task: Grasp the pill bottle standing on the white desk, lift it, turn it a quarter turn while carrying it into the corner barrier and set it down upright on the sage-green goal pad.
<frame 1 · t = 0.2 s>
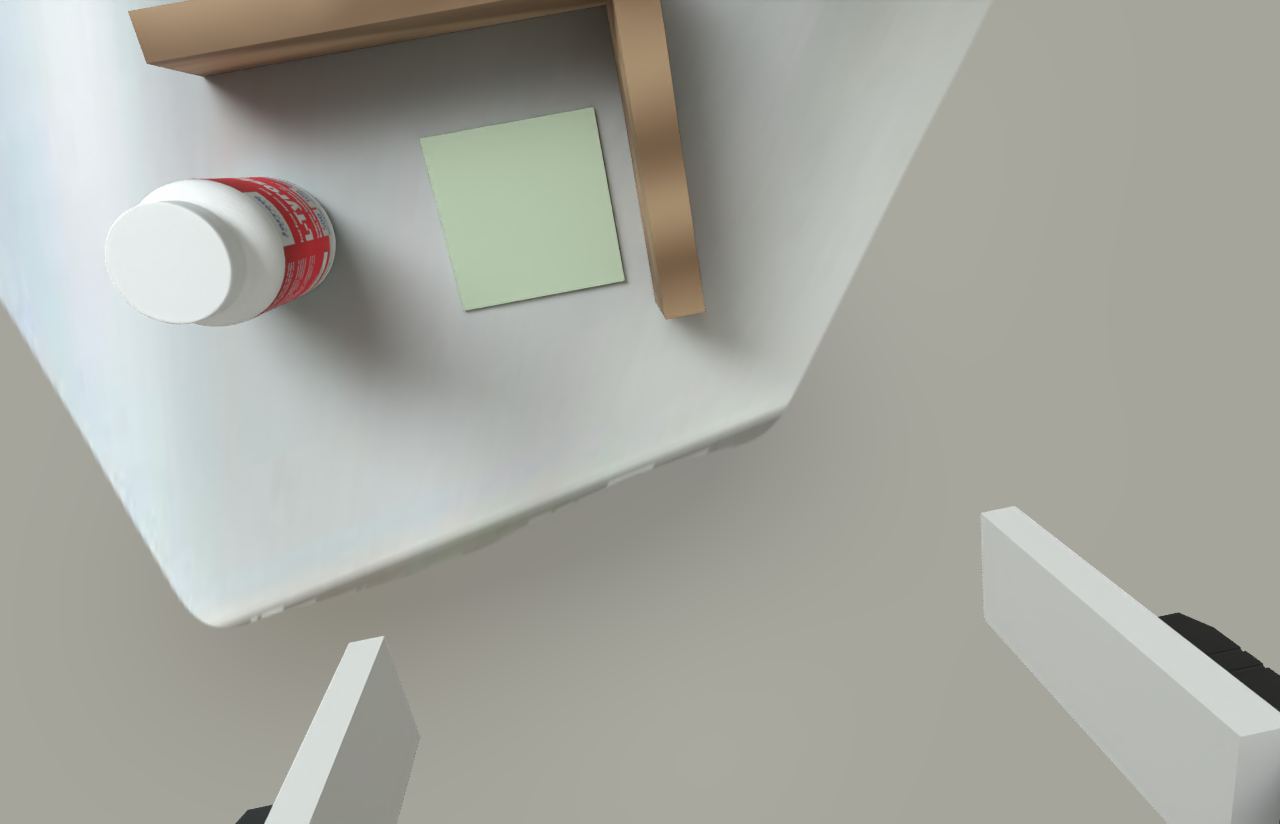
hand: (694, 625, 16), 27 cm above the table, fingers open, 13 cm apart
goal pad: (526, 212, 39), on the table
pill bottle: (279, 237, 39), on the table
corner barrier: (456, 163, 38), on the table
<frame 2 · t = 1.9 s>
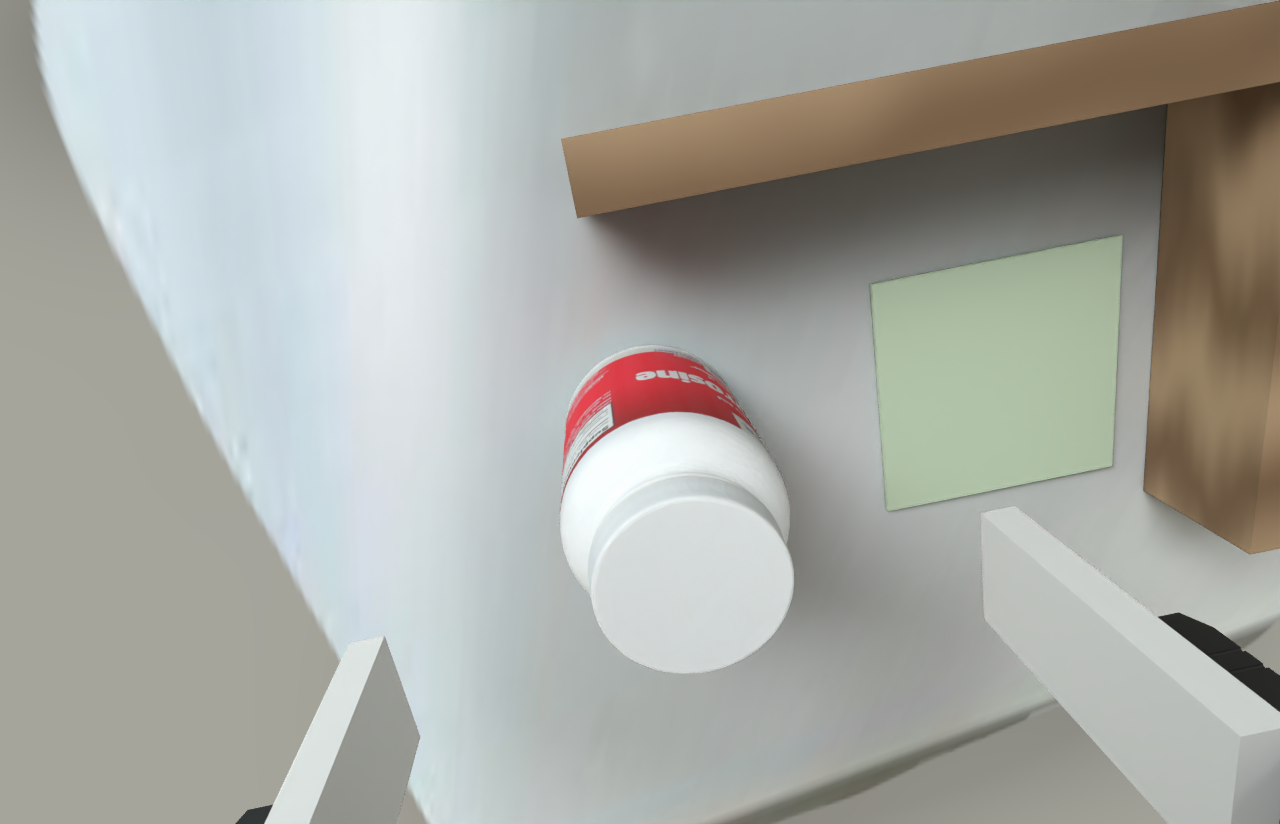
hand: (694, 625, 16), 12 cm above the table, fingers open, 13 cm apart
goal pad: (996, 379, 28), on the table
pill bottle: (648, 420, 27), on the table
corner barrier: (913, 317, 26), on the table
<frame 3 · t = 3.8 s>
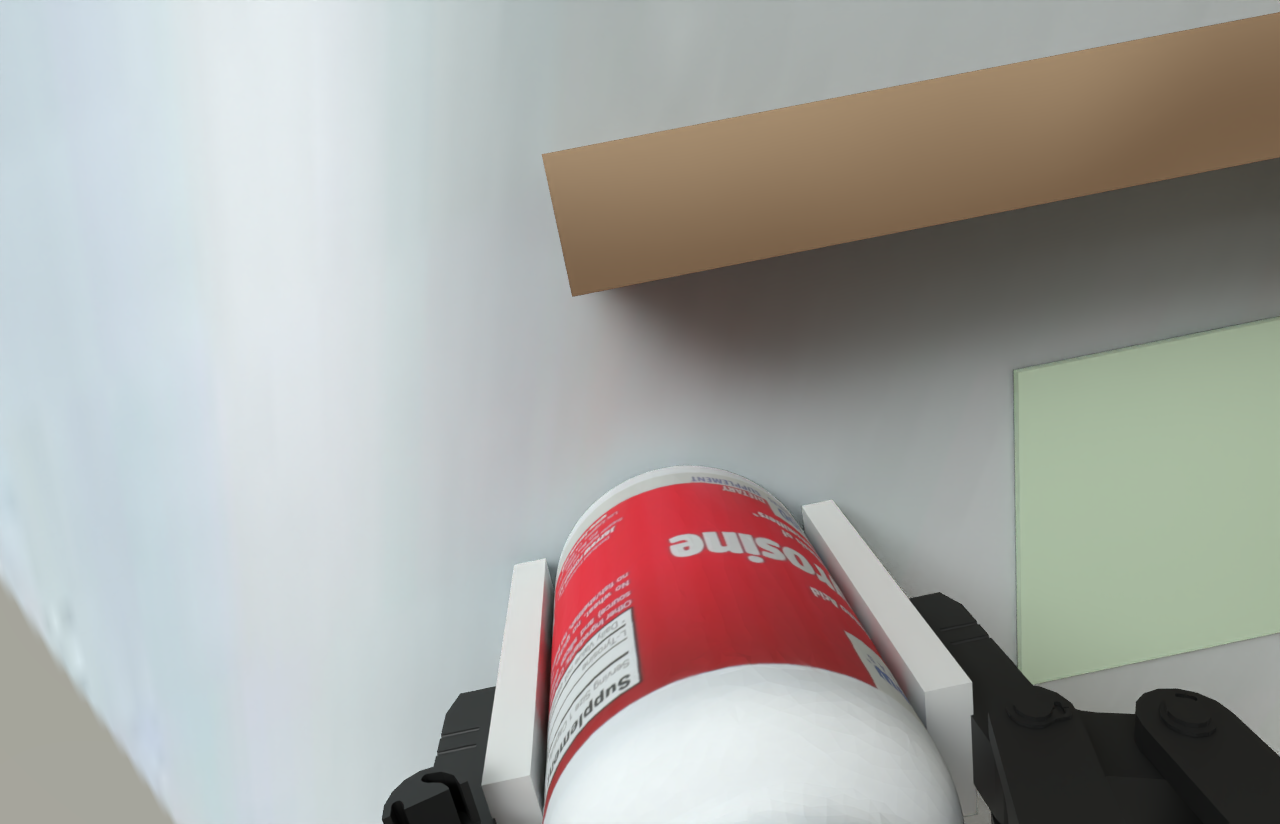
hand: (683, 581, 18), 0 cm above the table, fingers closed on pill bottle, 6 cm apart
goal pad: (1187, 502, 19), on the table
pill bottle: (678, 568, 18), on the table, touching gripper
corner barrier: (1074, 417, 18), on the table
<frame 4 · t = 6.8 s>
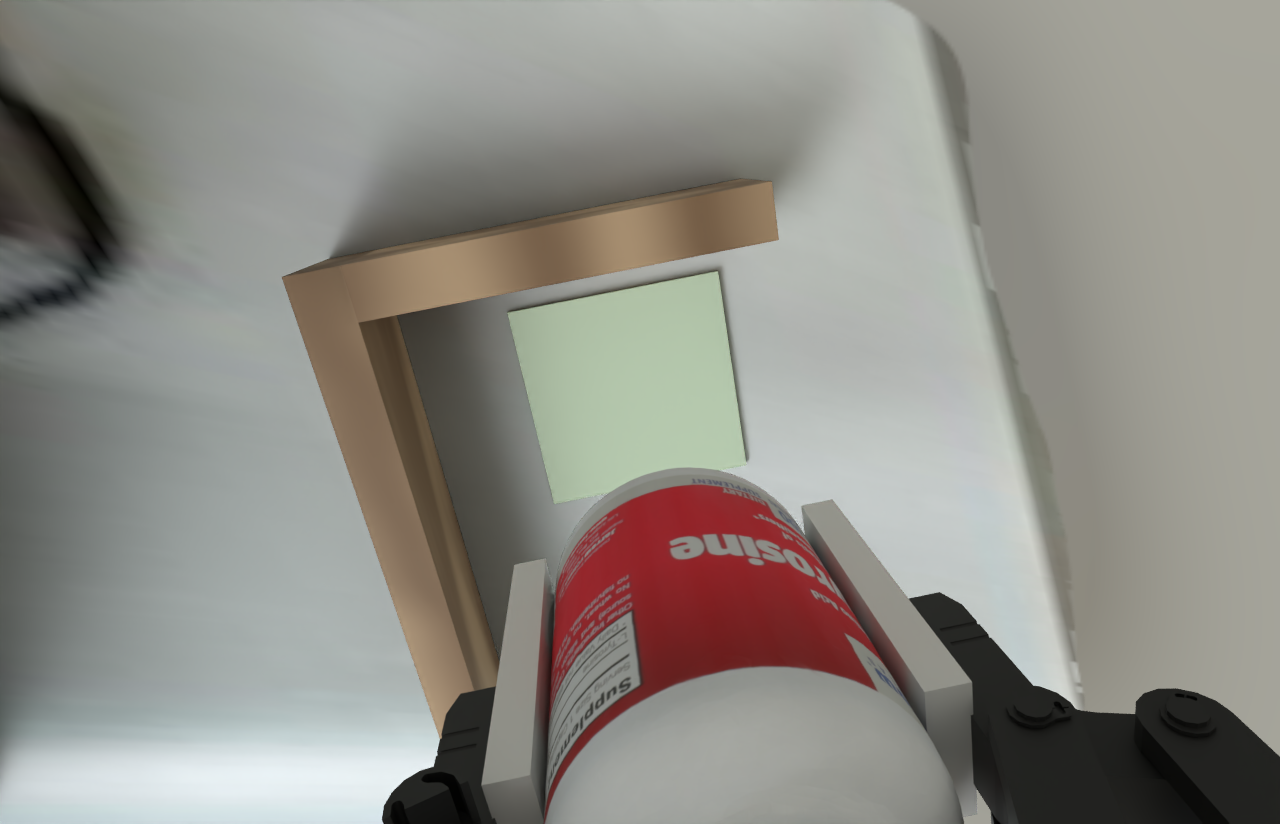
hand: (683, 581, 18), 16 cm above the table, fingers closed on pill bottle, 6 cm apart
goal pad: (632, 391, 33), on the table
pill bottle: (679, 570, 18), point 15 cm above the table, touching gripper
corner barrier: (579, 466, 34), on the table
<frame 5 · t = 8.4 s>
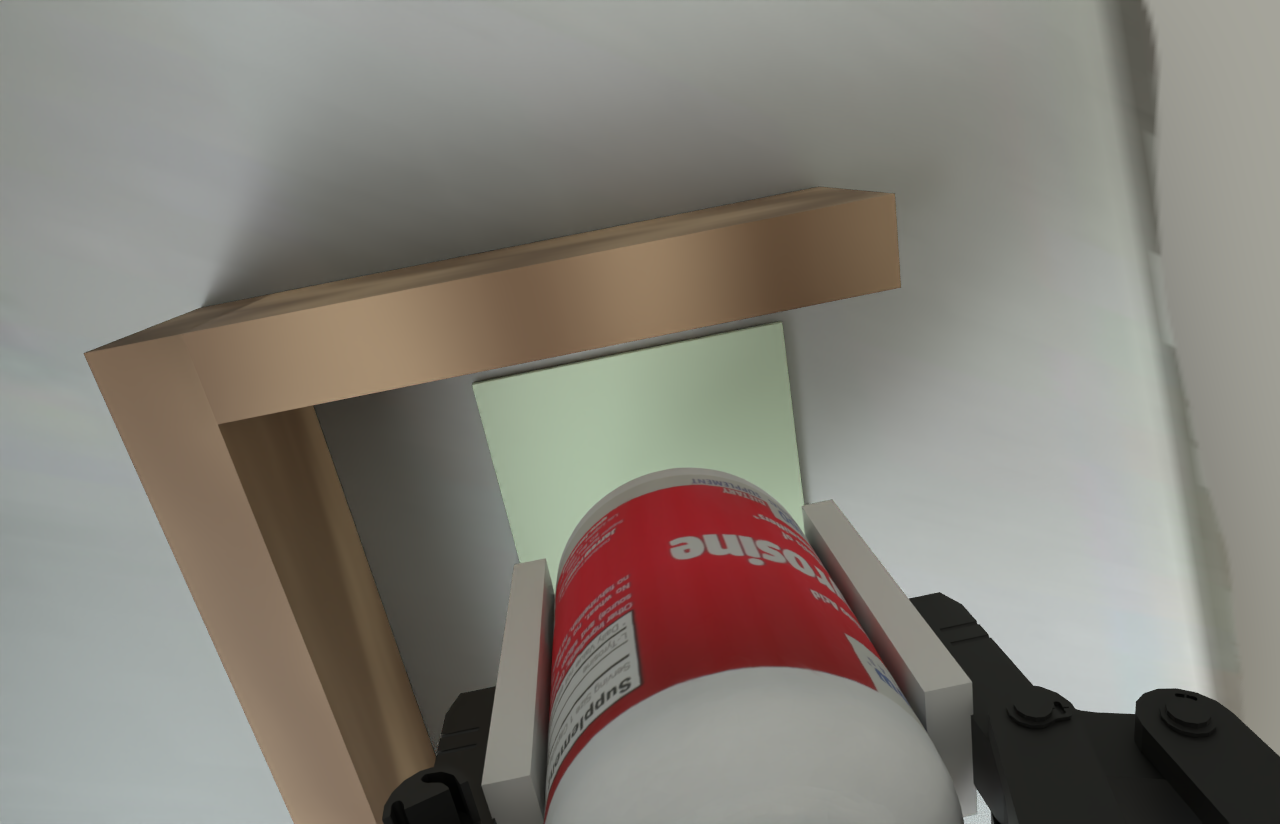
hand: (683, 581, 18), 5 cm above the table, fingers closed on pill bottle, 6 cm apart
goal pad: (654, 491, 23), on the table
pill bottle: (679, 570, 18), point 5 cm above the table, touching gripper
corner barrier: (578, 594, 24), on the table
when the fingers open (2 cm above the table, at t = 9.8 s): pill bottle drops 1 cm, resting on goal pad.
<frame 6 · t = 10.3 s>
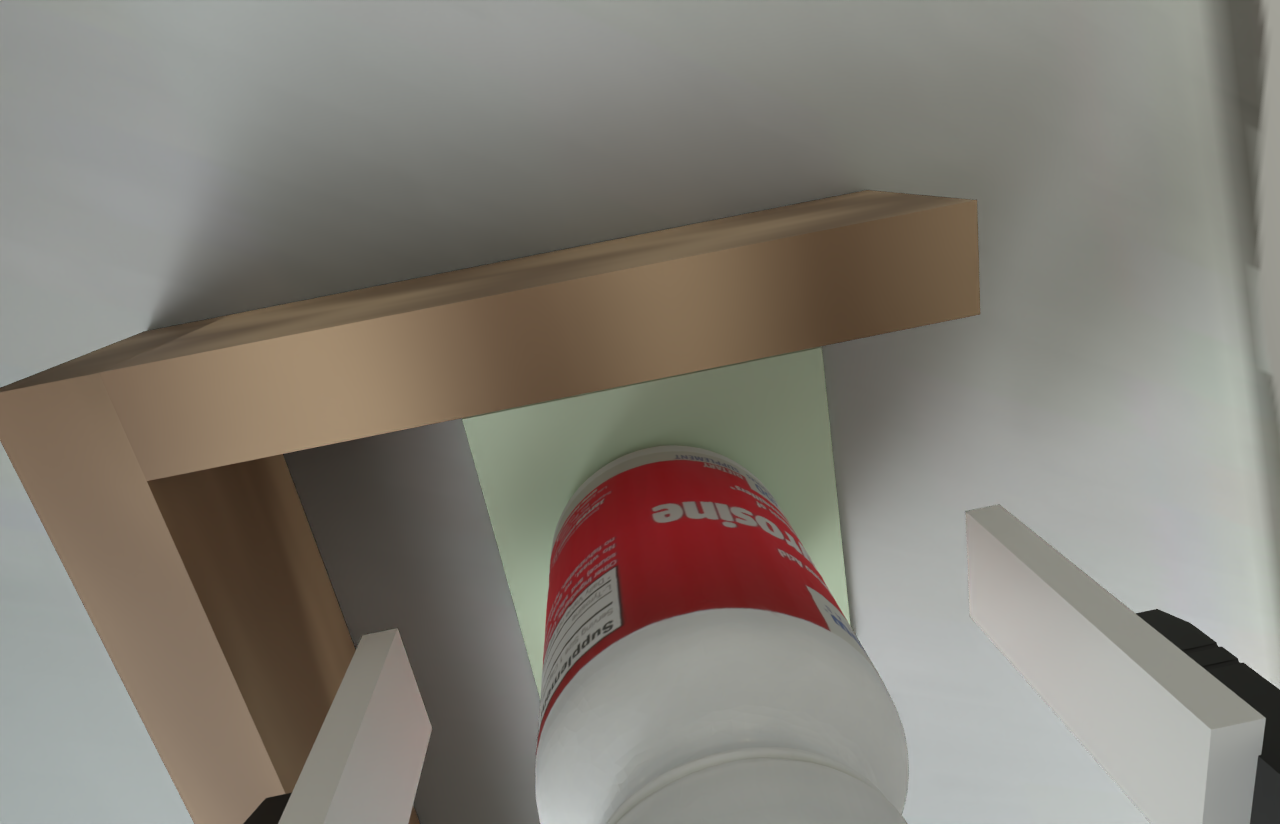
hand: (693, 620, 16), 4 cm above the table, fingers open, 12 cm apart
goal pad: (672, 539, 20), on the table
pill bottle: (665, 542, 20), resting on goal pad
corner barrier: (585, 654, 21), on the table
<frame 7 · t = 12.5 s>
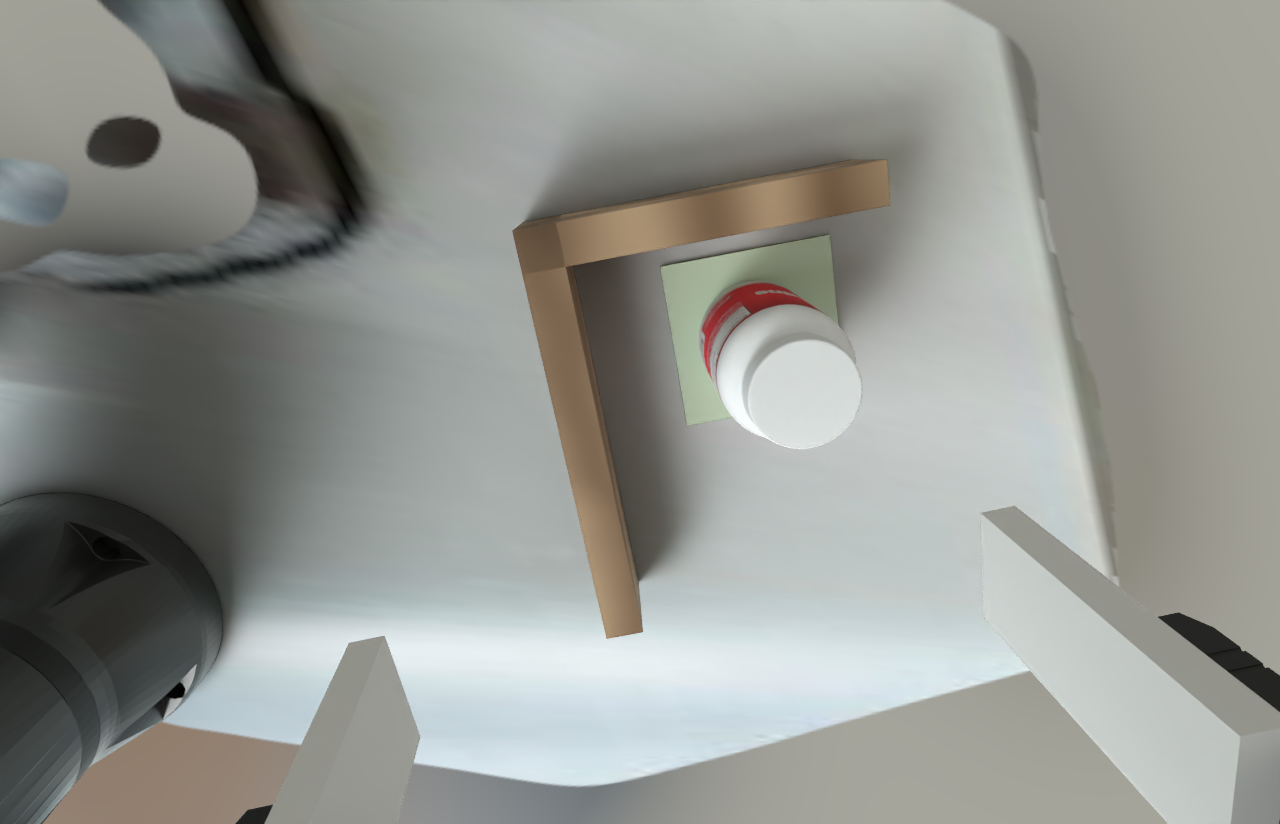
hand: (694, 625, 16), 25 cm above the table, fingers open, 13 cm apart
goal pad: (755, 333, 40), on the table
pill bottle: (752, 334, 40), resting on goal pad
corner barrier: (709, 394, 41), on the table
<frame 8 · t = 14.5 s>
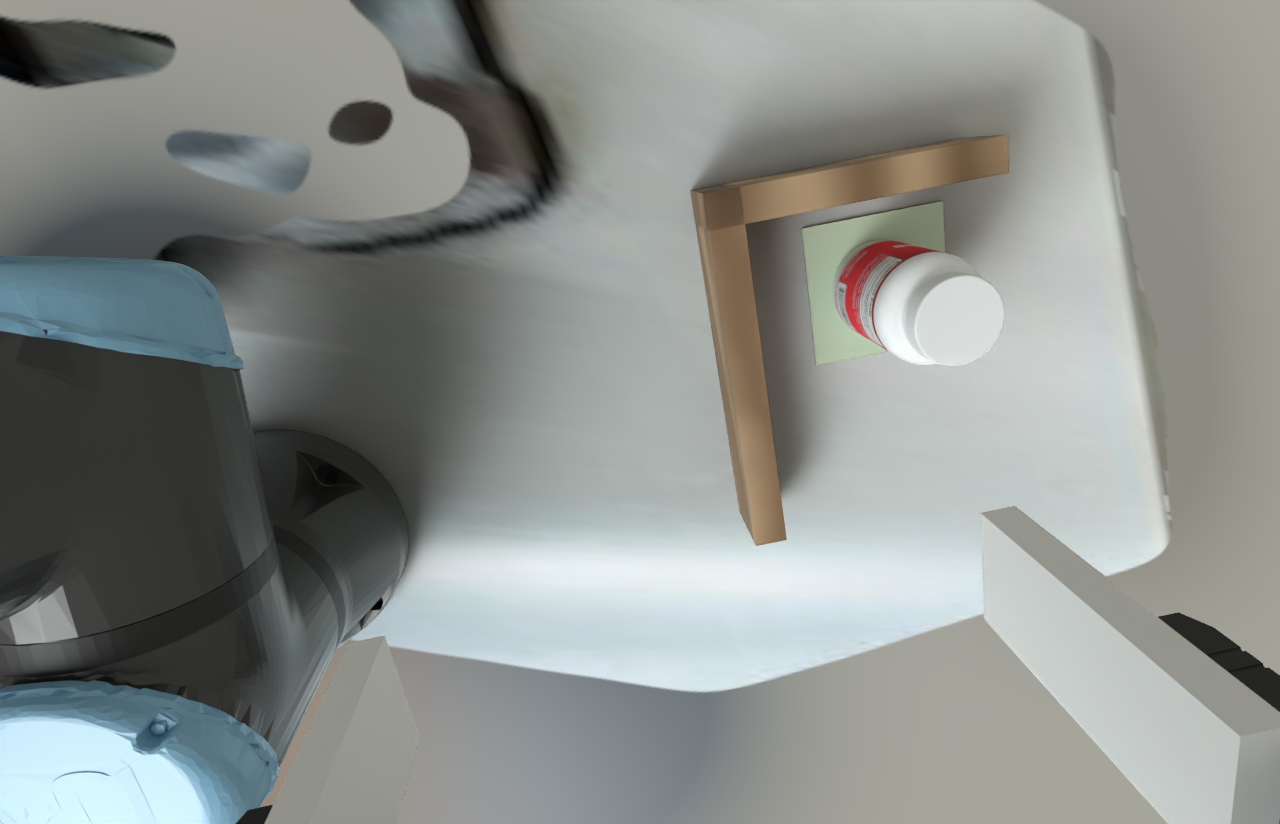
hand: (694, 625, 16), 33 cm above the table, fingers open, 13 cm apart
goal pad: (876, 285, 48), on the table
pill bottle: (874, 286, 48), resting on goal pad
corner barrier: (835, 339, 49), on the table
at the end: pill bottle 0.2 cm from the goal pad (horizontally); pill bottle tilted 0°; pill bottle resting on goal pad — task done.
